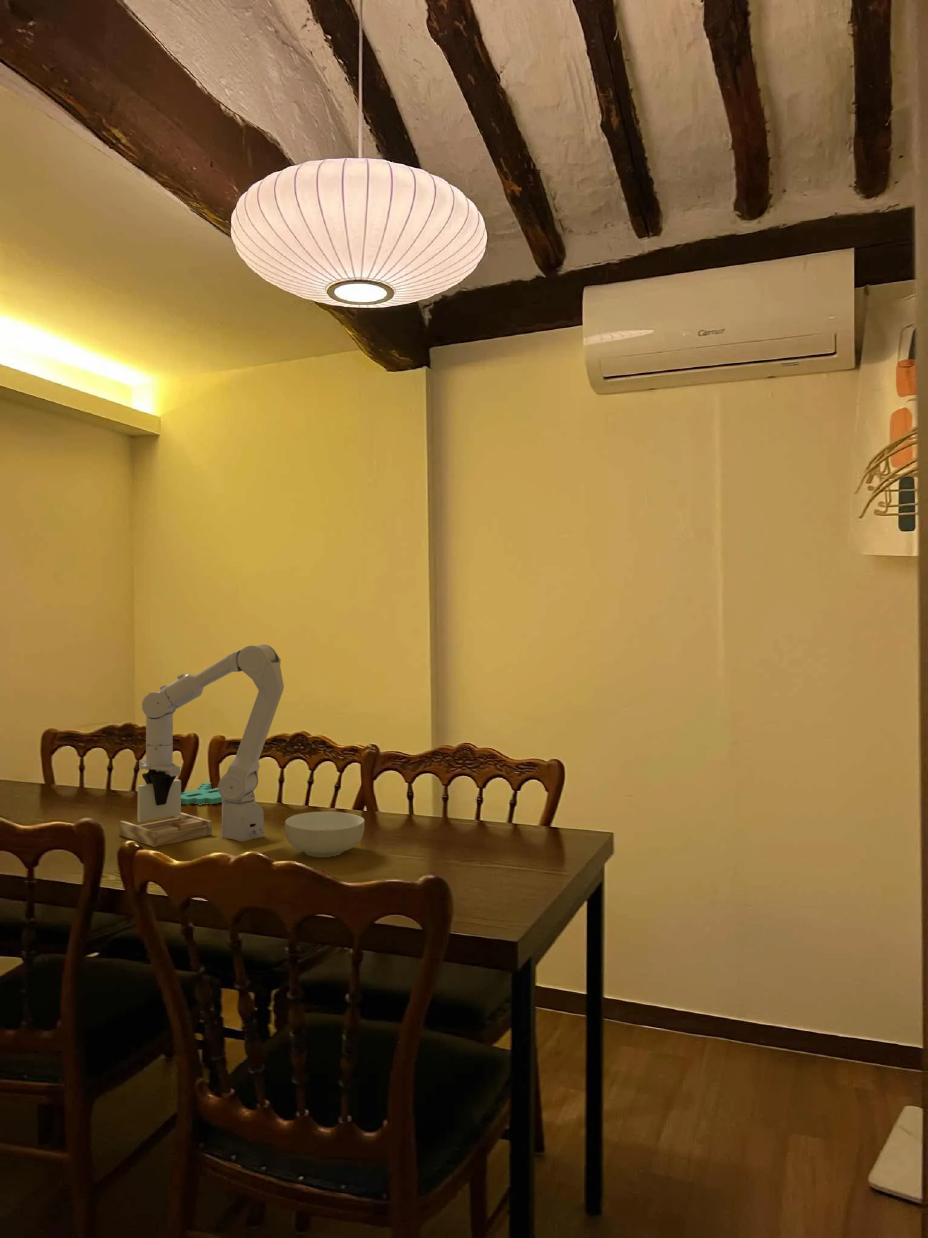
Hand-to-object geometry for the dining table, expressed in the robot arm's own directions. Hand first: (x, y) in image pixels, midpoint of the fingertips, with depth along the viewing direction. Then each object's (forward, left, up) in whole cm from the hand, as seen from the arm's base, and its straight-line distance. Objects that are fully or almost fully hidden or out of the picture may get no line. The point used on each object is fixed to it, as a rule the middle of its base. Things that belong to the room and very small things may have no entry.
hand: (159, 804), depth 191 cm
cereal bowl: (-38, -17, -8) cm, 42 cm away
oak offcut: (-7, -3, -6) cm, 10 cm away
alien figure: (+30, -29, -8) cm, 43 cm away
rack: (-3, 0, -7) cm, 8 cm away
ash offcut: (-7, +3, -6) cm, 10 cm away
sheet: (0, 0, -3) cm, 3 cm away
